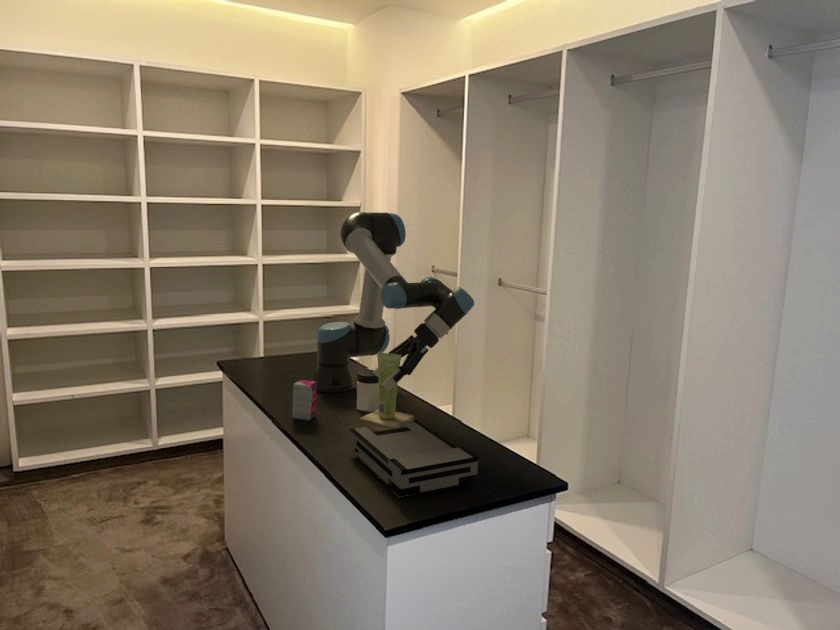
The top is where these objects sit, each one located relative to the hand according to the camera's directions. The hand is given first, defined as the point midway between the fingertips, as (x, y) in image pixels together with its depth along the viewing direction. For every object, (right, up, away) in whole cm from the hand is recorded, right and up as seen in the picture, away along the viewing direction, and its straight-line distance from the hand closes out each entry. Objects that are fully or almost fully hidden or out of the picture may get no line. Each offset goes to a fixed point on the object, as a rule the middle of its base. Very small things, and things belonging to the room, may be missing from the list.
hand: (380, 381), depth 188 cm
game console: (+9, -21, -24) cm, 33 cm away
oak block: (+2, -15, +3) cm, 15 cm away
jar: (-5, -11, +23) cm, 26 cm away
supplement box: (-25, -13, +11) cm, 30 cm away
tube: (+2, -11, +3) cm, 12 cm away
